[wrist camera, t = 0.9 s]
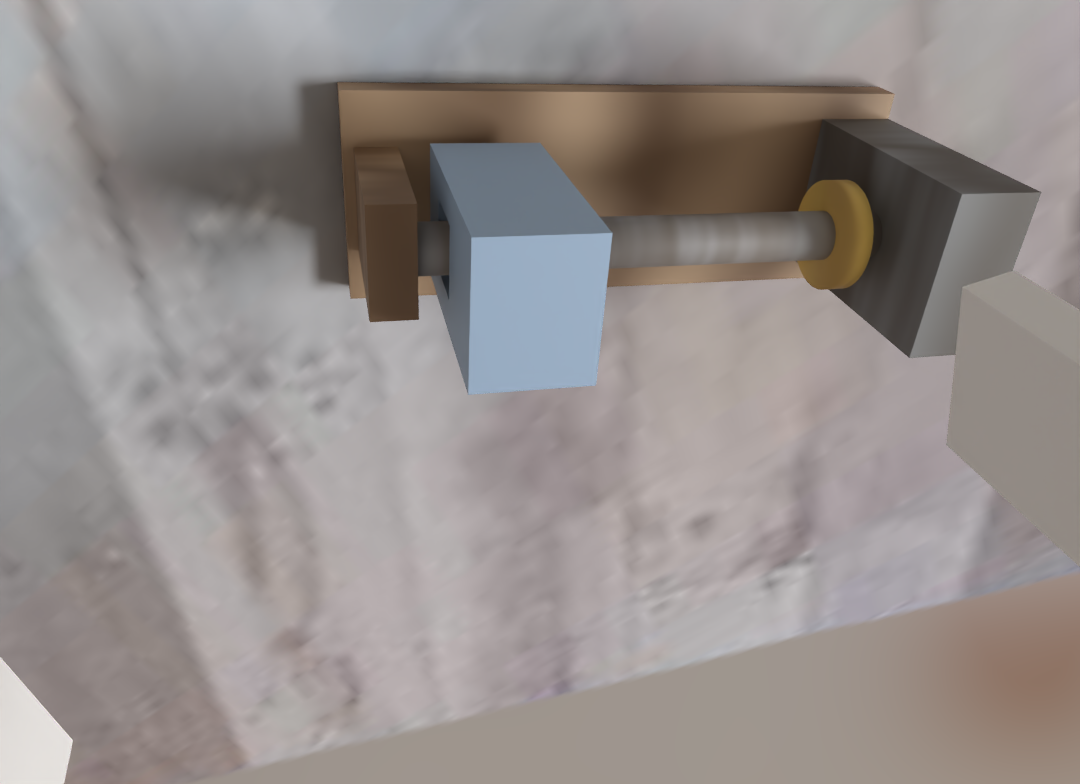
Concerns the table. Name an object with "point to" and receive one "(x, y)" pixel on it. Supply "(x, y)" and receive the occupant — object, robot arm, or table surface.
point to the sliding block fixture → (698, 192)
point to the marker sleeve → (518, 267)
